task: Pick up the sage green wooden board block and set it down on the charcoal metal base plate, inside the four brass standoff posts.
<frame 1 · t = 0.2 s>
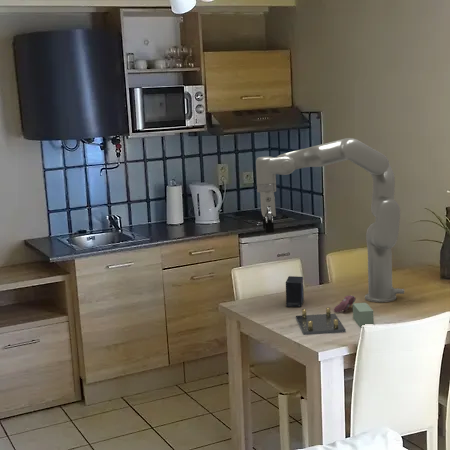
hand: (268, 230, 286), 31 cm above the table, tool pointing down, fingers open, 9 cm apart
small box: (295, 304, 291), on the table
green board block: (363, 322, 262), on the table
video game controller: (345, 310, 279), on the table
standoff plate: (319, 325, 262), on the table
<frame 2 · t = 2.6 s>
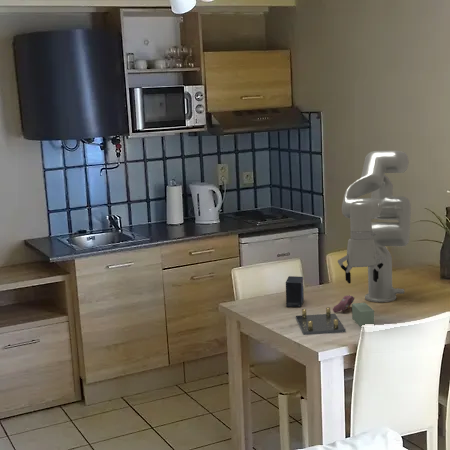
hand: (362, 281, 260), 15 cm above the table, tool pointing down, fingers open, 9 cm apart
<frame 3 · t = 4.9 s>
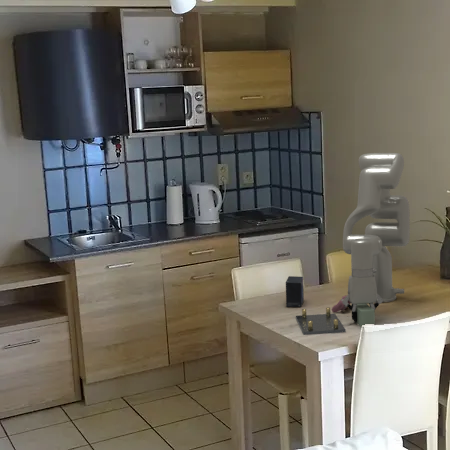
hand: (363, 320, 262), 1 cm above the table, tool pointing down, fingers closed on green board block, 5 cm apart
green board block: (363, 322, 262), on the table, touching gripper
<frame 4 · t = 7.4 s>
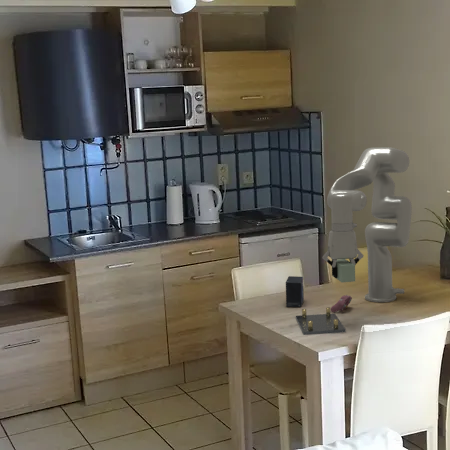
hand: (343, 276, 259), 18 cm above the table, tool pointing down, fingers closed on green board block, 5 cm apart
green board block: (343, 278, 259), point 17 cm above the table, touching gripper
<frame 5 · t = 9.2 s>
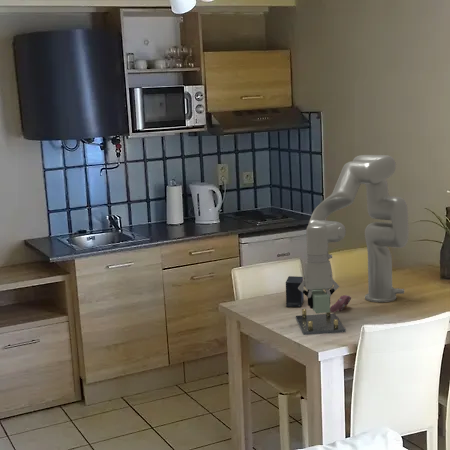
hand: (319, 306, 261), 7 cm above the table, tool pointing down, fingers closed on green board block, 5 cm apart
green board block: (319, 308, 261), point 6 cm above the table, touching gripper
when the fingers open (3 cm above the table, at t = 10.3 s): green board block drops 1 cm, resting on standoff plate.
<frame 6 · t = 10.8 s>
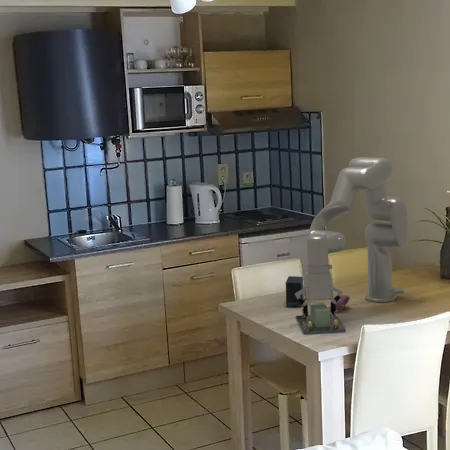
hand: (319, 314, 261), 4 cm above the table, tool pointing down, fingers open, 9 cm apart
green board block: (320, 322, 262), point 1 cm above the table, touching standoff plate
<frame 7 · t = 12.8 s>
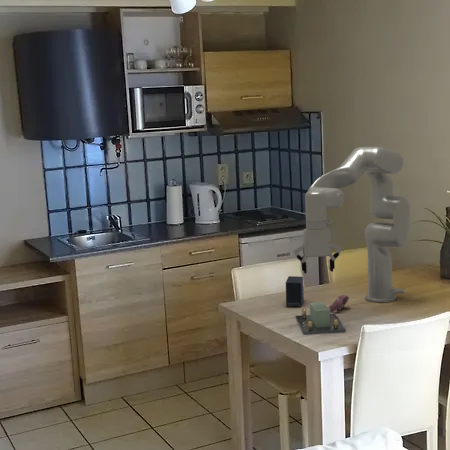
hand: (318, 271, 259), 20 cm above the table, tool pointing down, fingers open, 9 cm apart
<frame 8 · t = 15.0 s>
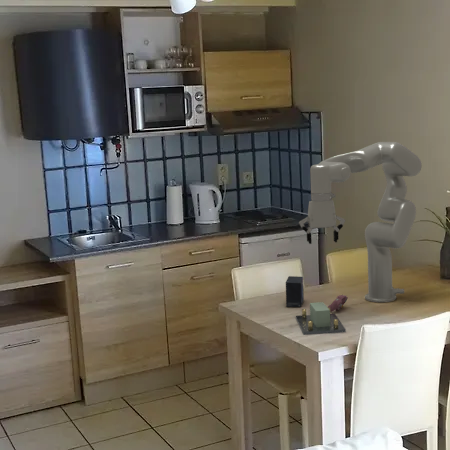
hand: (322, 242, 269), 28 cm above the table, tool pointing down, fingers open, 9 cm apart
at the end: green board block 0.1 cm off-centre on the standoff plate, point 1.0 cm above the standoff plate's base; green board block tilted 0°; the gripper is holding nothing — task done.
